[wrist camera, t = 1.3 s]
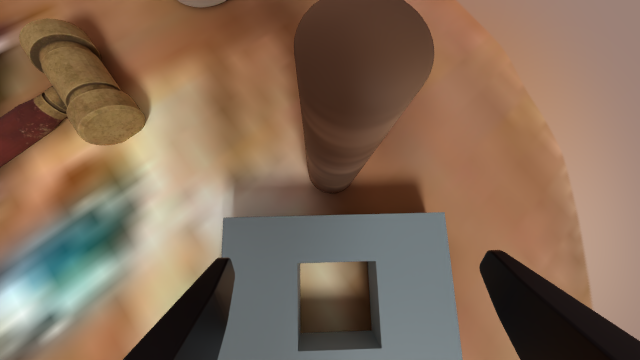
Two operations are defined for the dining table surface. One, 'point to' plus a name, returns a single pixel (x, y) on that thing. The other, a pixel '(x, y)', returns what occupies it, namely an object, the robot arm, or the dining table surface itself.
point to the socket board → (341, 246)
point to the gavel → (68, 92)
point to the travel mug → (201, 2)
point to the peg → (356, 80)
